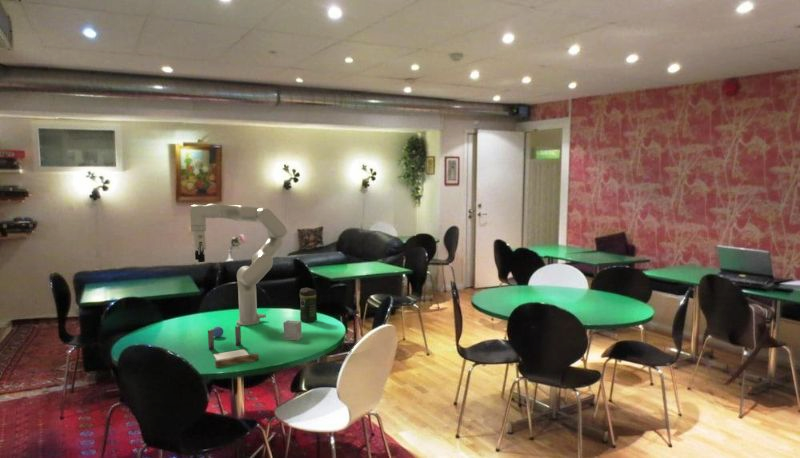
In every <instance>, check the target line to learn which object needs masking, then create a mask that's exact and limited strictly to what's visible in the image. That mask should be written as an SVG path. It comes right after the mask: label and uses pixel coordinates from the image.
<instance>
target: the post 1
mask: <svg viewBox="0 0 800 458" xmlns="http://www.w3.org/2000/svg"><path fill="white" fill-rule="evenodd" d="M207 341H208V351H209V350H210V351H212V350H214V349H215V337H214V331H213V329H208V330H207Z"/></svg>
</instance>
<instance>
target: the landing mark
mask: <svg viewBox="0 0 800 458" xmlns="http://www.w3.org/2000/svg"><path fill="white" fill-rule="evenodd" d="M244 355H250V354H249V353H248V351H246V349H243V348H242V349H239V350H231V351H230V350H229V351H225V352H218V353H214V354H213V356H214V358H215V360H220V359H226V358H232V357H238V356H244Z"/></svg>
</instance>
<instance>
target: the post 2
mask: <svg viewBox="0 0 800 458" xmlns="http://www.w3.org/2000/svg"><path fill="white" fill-rule="evenodd" d="M241 327H242V326H241V325H235V326H234V332H235V333H234V335H235V346H237V347H239V346H241V345H242V329H241Z"/></svg>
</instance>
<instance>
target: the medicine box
mask: <svg viewBox="0 0 800 458" xmlns="http://www.w3.org/2000/svg"><path fill="white" fill-rule="evenodd" d="M282 326H283V340H290V341H300V340H302V338H303V331H302V329H303V328H302V321H301V320H300V321H298V320H289V319H287V320H286V321H284V322H283V325H282Z"/></svg>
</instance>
